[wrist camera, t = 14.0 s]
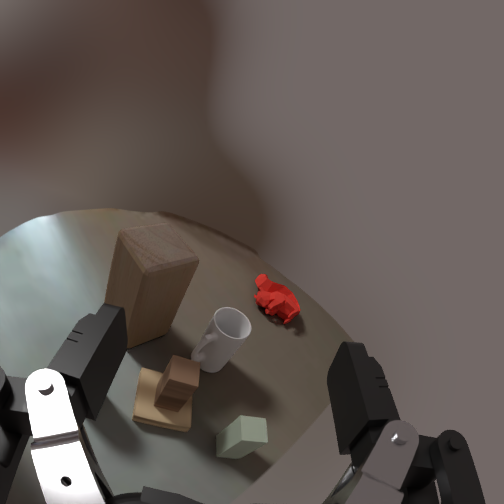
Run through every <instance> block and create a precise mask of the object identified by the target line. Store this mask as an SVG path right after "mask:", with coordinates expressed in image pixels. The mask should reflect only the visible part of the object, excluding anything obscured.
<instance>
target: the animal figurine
mask: <svg viewBox="0 0 504 504" xmlns="http://www.w3.org/2000/svg"><path fill="white" fill-rule="evenodd" d="M255 282H256V284H257V287H258V290H259V291H258V293H257V295H254V297H255V298H256V304H257V305H259V306H262V307H265V308H266V309H265V312H266V314H270V315H271V316H272V315H274V314H276V313H277V315H278V316H279V317H280V318H282V319H283V320H285V321H284V324H286V323H288V322H290V321H291V320H292V319H293V317H294V316H295V317H296V316H297V315H298V314H299V312H300V307H299V304H298V301H297V300H296V298H295V296H294V294H293V293H292V292H291V291H290V290H289V289H288V288H287V287H286V286H284V285H281V284H278V283H274V282H272V281H270V280H269V279H268V277H267V275H266V274H260V275H259V276H258V277H257V278H256V280H255Z"/></svg>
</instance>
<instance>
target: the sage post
mask: <svg viewBox="0 0 504 504" xmlns="http://www.w3.org/2000/svg"><path fill="white" fill-rule="evenodd" d="M266 443H268V439H267V427H266V419H265V418H257V417H249V416H242V415H240V416H239V417H238V418H237V419H236V420H235V421H233V422H232V423H231V424H230V425H229V426H227V427H226V428H225V429H224V430H223V431H221V432H220V433H219V434H218V435H216V457H223V458H232V459H240V458H242V457H244V456H246V455H247V454H249V453H251V452H253V451H254V450H256V449H258V448H260V447H261V446H263V445H265V444H266Z"/></svg>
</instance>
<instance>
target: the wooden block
mask: <svg viewBox="0 0 504 504" xmlns="http://www.w3.org/2000/svg"><path fill="white" fill-rule="evenodd" d="M198 264H199V259H198V257H197V255H196V254H195V253H194V252H193V251H192V250H191V249H190V247H189V246H188V245H187V244H186V243H185V242H184V240H183V239H182V238H181V237H180V236H179V235H178V233H177V232H176V231H175V230H174V229H173V228H172V226H171V225H169V224H167V223H161V224H154V225H146V226H139V227H132V228H125V229H122V230H120V231H119V233H118V236H117V241H116V245H115V249H114V254H113V259H112V264H111V268H110V274H109V279H108V284H107V290H106V296H105V302H104V303H107V304H111V305H115V306H119V307H123V308H124V309H125V316H126V327H127V336H128V344H127V348H132V347H135V346H137V345H140V344H142V343H145V342H147V341H150V340H152V339H155V338H157V337H160V336H162V335H165V334H166V333H167V332H168V331H169V329H170V326H171V324H172V322H173V319H174V317H175V315H176V313H177V310H178V308H179V306H180V304H181V301H182V299H183V297H184V295H185V292H186V290H187V288H188V286H189V284H190V281H191V279H192V277H193V275H194V273H195V271H196V268H197V266H198Z"/></svg>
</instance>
